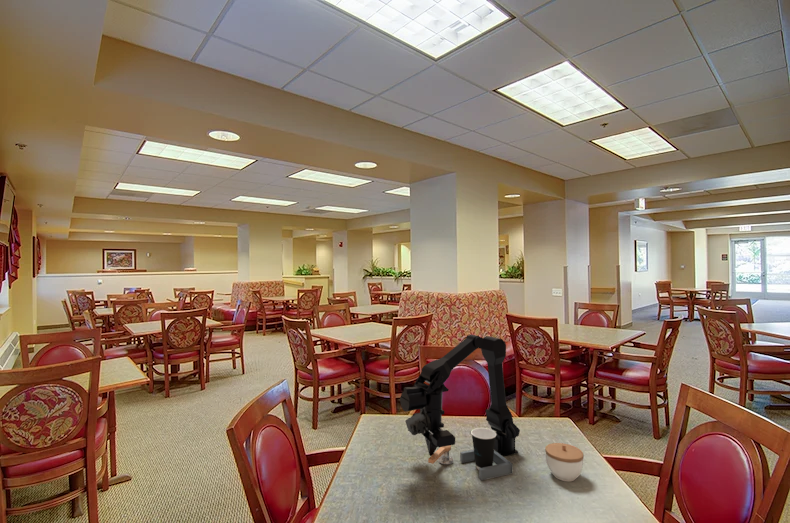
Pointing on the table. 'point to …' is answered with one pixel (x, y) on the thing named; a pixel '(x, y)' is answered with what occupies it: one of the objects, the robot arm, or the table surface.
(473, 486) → the table surface
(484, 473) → the holder
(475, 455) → the dixie cup
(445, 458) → the post
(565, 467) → the lidded jar
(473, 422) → the table surface
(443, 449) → the lever
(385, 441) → the table surface
